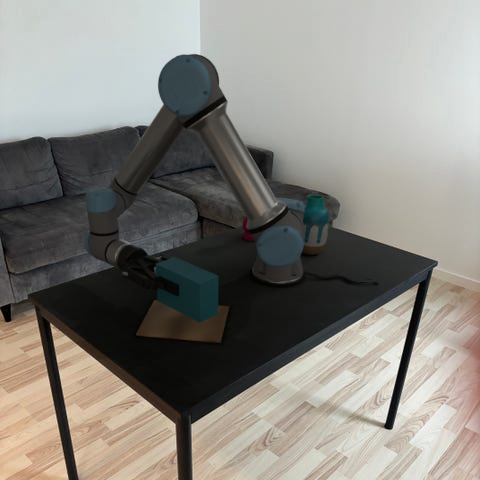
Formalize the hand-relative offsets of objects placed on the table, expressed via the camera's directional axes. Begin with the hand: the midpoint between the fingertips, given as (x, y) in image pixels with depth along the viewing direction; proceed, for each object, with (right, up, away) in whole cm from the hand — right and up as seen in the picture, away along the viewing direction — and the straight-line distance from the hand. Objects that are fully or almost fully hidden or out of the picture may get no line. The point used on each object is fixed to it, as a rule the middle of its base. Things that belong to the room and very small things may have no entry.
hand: (188, 285), depth 112 cm
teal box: (-2, -4, +4) cm, 6 cm away
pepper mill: (+16, +21, +58) cm, 64 cm away
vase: (+35, +14, +48) cm, 61 cm away
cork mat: (-2, -8, +6) cm, 11 cm away
